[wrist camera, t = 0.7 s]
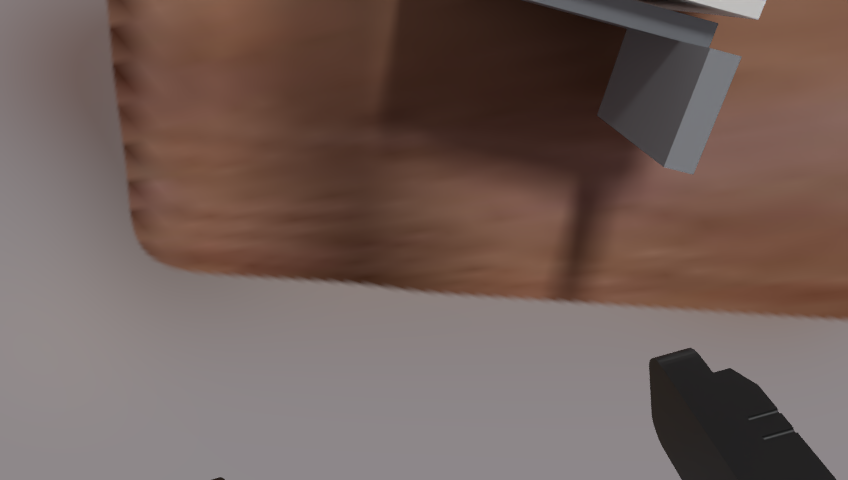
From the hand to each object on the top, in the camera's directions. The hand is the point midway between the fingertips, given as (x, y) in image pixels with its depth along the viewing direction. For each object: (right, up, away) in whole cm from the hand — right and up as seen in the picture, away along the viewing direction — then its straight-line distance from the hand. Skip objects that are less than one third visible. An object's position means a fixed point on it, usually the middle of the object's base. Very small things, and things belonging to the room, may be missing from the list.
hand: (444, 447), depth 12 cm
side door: (+6, +14, +22) cm, 27 cm away
